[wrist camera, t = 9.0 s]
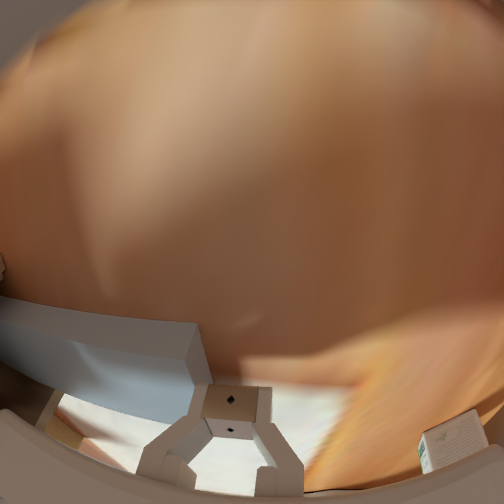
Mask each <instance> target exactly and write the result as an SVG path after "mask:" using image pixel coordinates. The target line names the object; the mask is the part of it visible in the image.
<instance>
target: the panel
mask: <svg viewBox="0 0 504 504" xmlns="http://www.w3.org/2000/svg"><path fill="white" fill-rule="evenodd" d="M0 361H2V362H3V363H5V364H7V365H8V366H10V367H12V368H14V369H16V370H17V371H19V372H21V373H23V374H25V375H27V376H29V377H31V378H33V379H35V380H37V381H39V382H41V383H43V384H45V385H47V386H50V387H52V388H54V389H56V390H59V391H61V392H64V393H66V394H68V395H71V396H73V397H76V398H79V399H81V400H84V401H87V402H90V403H92V404H95V405H98V406H101V407H104V408H108V409H111V410H114V411H118V412H121V413H125V414H128V415H132V416H136V417H140V418H144V419H148V420H152V421H157V422H162V423H167V424H172V425H173V424H174V423H175V422H176V421H177V420H179V419H180V418H181V417H182V416H187V413H188V409H189V406H190V402H191V399H192V395H193V392H194V388H195V385H196V384H197V383H208V384H214V383H213V380H212V376H211V373H210V369H209V365H208V362H207V358H206V354H205V351H204V347H203V343H202V339H201V335H200V331H199V327H198V323H188V322H173V321H161V320H149V319H139V318H130V317H121V316H112V315H104V314H97V313H90V312H83V311H77V310H70V309H64V308H58V307H53V306H47V305H42V304H37V303H32V302H27V301H22V300H18V299H13V298H9V297H5V296H0Z"/></svg>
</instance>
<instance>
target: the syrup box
mask: <svg viewBox="0 0 504 504" xmlns="http://www.w3.org/2000/svg"><path fill="white" fill-rule="evenodd" d="M488 446H489V443H488V440H487V437H486V434H485V432H484V429H483V426H482V423H481V421H480V418H479V416H478V413H477V411H476V409H472V410H470V411H468V412H465V413H463V414H461V415H459V416H457V417H455V418H453V419H451V420H449V421H447V422H445V423H443V424H441V425H439V426H436V427H434V428H432V429H430V430H428V431H426V432H423V433H422V438H421V440H420V443H419V447H418V454H419V459H420V463H421V468H422V472H423V474H426V473H429V472H432V471H434V470H437V469H440V468H442V467H445V466H447V465H450V464H452V463H454V462H457V461H459V460H461V459H464V458H466V457H468V456H470V455H472V454H474V453H476V452H478V451H480V450H482V449H484V448H486V447H488Z"/></svg>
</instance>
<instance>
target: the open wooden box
mask: <svg viewBox="0 0 504 504" xmlns="http://www.w3.org/2000/svg"><path fill="white" fill-rule="evenodd" d="M5 269H6V267H5V264H4V262H3V259H2V257H1V254H0V281H1V280H2V279H3V278H4V277H3V275H2V273H1V272H3V271H4V270H5ZM63 395H64V392H61V391H59V390H56V389H54V388H52V387H50V386H47V385H45V384H43V383H41V382H39V381H37V380H35V379H33V378H31V377H29V376H27V375H25V374H23V373H21V372H19V371H17V370H16V369H14V368H12V367H10V366H8V365H7V364H5V363H3V362H2V361H0V410H3V409H8V410H10V411H12V412H13V413H15V414H16V415H17V416H19V417H20V418H22V419H23V420H25V421H26V422H28V423H29V424H31V425H32V426H34V427H35V428H37V429H39V430H40V431H42V432H44V431H45V429H46V427H47V425H48V423H49V421H50V419H51V417H52V415H53V413H54V411H55V409H56V408H57V406H58V404H59V402H60V400H61V398H62V397H63Z"/></svg>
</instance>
